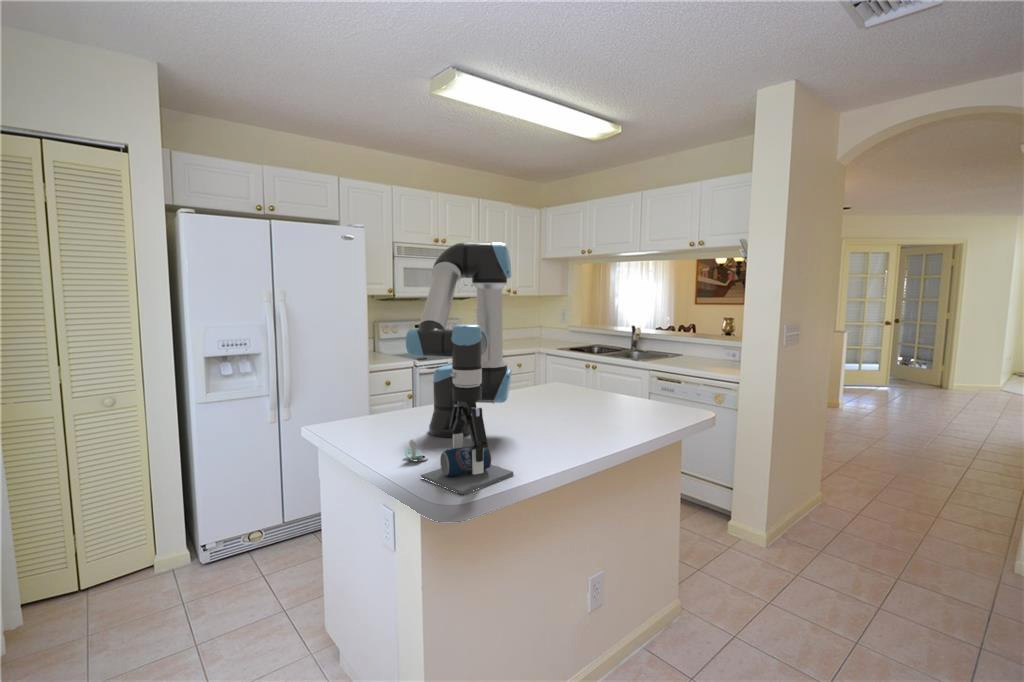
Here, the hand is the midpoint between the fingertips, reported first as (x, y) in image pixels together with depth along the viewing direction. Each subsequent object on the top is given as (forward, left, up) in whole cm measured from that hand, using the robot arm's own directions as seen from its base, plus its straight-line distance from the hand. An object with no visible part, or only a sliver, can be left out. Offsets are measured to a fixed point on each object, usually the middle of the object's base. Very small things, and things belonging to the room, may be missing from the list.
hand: (467, 465), depth 129 cm
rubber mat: (0, 0, -3) cm, 3 cm away
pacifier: (-21, 0, -4) cm, 22 cm away
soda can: (-2, -6, +1) cm, 7 cm away
